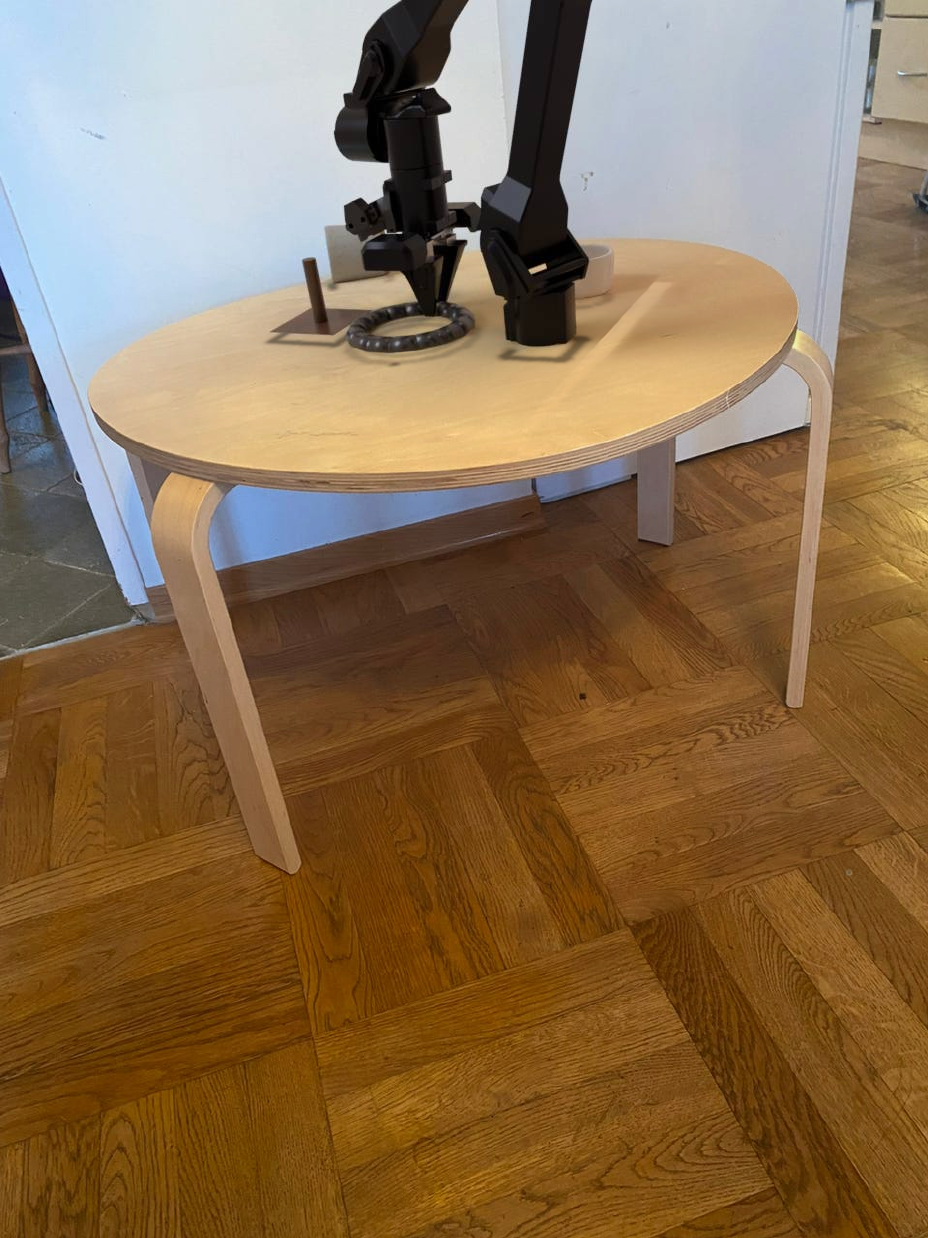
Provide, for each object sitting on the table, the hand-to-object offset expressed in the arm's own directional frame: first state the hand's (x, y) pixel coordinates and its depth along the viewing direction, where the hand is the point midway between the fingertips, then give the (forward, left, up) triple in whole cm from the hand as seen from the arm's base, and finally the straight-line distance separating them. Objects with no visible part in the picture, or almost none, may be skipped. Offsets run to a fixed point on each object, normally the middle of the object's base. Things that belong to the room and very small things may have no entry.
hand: (435, 313), depth 101 cm
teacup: (-14, -10, -1) cm, 18 cm away
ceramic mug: (+20, -15, -1) cm, 25 cm away
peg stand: (+13, +5, -1) cm, 14 cm away
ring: (0, +6, 0) cm, 6 cm away
